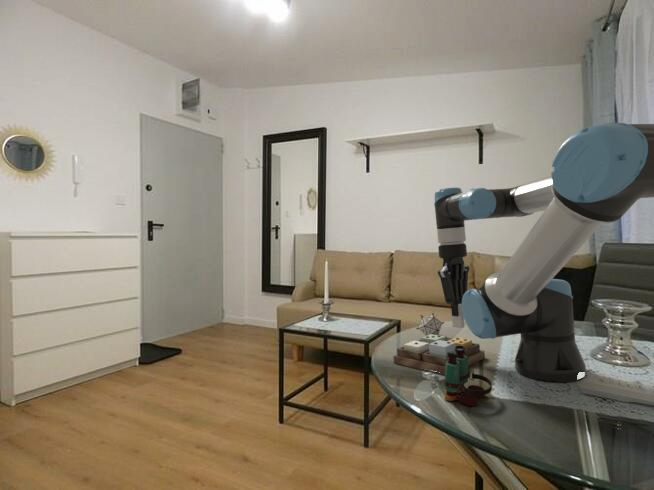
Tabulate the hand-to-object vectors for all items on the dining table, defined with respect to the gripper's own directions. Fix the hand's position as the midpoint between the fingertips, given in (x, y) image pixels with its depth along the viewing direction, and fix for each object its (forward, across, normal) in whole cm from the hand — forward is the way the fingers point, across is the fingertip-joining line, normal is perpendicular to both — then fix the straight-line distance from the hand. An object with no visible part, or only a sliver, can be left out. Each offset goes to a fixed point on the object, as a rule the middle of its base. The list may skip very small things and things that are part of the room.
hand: (458, 326), depth 108 cm
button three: (+7, 0, -9) cm, 11 cm away
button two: (+6, +8, 0) cm, 10 cm away
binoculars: (+10, +22, +14) cm, 28 cm away
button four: (+7, 0, 0) cm, 7 cm away
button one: (+7, +8, -9) cm, 14 cm away
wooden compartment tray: (+9, +4, -5) cm, 11 cm away
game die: (+9, -16, -21) cm, 28 cm away
